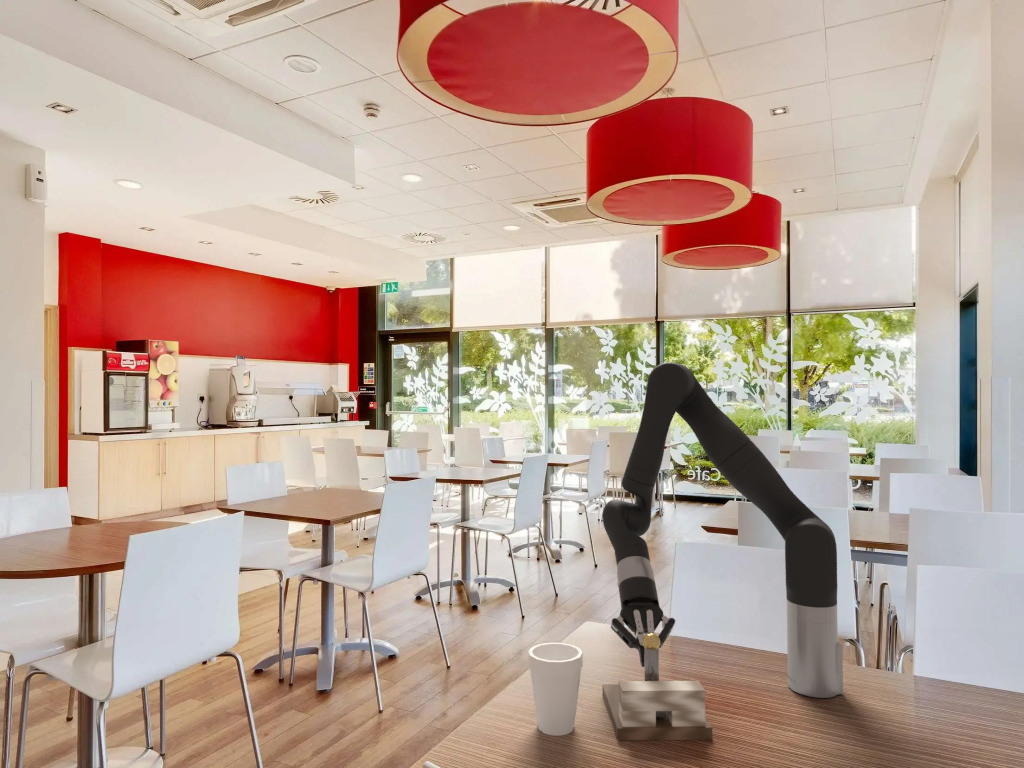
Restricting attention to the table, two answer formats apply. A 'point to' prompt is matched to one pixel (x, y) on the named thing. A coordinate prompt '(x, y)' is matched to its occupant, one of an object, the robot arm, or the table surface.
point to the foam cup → (555, 685)
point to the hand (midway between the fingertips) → (649, 668)
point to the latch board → (650, 731)
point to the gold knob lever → (652, 662)
